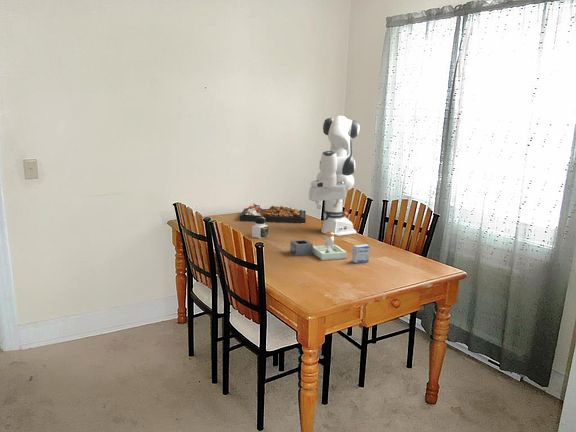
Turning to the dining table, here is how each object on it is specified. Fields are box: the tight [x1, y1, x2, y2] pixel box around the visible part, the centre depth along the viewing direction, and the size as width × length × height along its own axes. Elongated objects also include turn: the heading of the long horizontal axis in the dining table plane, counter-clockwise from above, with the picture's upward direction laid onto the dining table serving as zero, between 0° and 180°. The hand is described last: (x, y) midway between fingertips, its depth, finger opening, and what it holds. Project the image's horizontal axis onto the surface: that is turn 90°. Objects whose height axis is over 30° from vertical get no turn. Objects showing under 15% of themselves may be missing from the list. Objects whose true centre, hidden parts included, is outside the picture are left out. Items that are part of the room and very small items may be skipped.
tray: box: [312, 244, 348, 261], centre depth 256 cm, size 14×14×4 cm
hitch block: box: [289, 239, 314, 257], centre depth 259 cm, size 9×9×6 cm
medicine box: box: [351, 243, 370, 264], centre depth 247 cm, size 8×4×9 cm, turn 117°
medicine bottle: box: [251, 217, 269, 240], centre depth 288 cm, size 7×7×12 cm
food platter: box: [239, 203, 307, 224], centre depth 337 cm, size 45×25×10 cm, turn 88°
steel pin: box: [324, 231, 335, 253], centre depth 255 cm, size 4×4×12 cm
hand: (327, 208), depth 254 cm, fingers open, 8 cm apart
